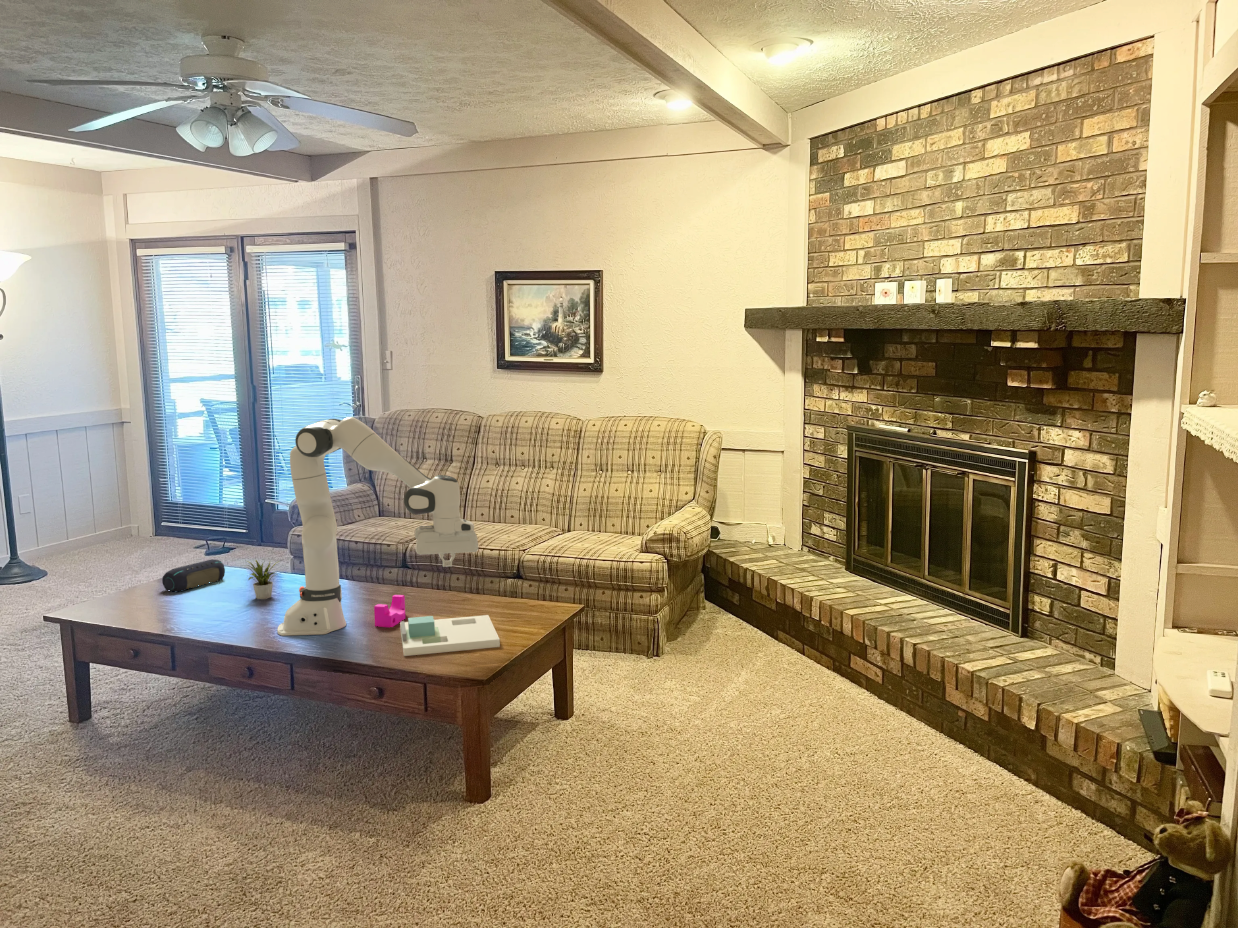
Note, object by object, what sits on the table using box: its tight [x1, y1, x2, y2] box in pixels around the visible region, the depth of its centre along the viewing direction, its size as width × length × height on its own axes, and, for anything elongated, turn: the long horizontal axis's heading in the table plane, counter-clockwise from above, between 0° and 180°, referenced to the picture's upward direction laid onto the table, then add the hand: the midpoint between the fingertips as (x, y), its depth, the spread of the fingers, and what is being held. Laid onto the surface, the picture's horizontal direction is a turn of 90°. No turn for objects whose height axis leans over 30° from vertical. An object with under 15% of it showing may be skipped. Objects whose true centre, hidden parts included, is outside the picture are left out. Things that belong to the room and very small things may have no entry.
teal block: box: [407, 615, 435, 638], centre depth 303 cm, size 8×7×4 cm
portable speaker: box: [161, 558, 226, 592], centre depth 374 cm, size 25×10×10 cm, turn 152°
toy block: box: [373, 594, 406, 628], centre depth 326 cm, size 15×6×8 cm, turn 166°
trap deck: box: [399, 614, 501, 657], centre depth 306 cm, size 30×28×5 cm
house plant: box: [242, 558, 280, 600], centre depth 355 cm, size 14×14×16 cm
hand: (447, 566), depth 305 cm, fingers closed
